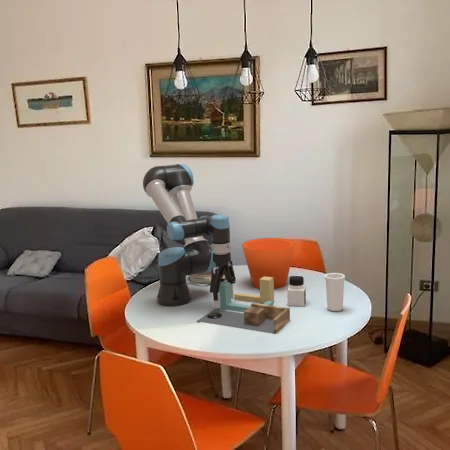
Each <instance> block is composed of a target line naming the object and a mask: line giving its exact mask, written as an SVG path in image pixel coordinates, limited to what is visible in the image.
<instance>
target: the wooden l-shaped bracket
mask: <svg viewBox="0 0 450 450" xmlns="http://www.w3.org/2000/svg"><path fill="white" fill-rule="evenodd" d="M250 306H251V307H257V308H264V309H265V318H267V319H273V327H274V333H276V334H278V333H279V332H280V331H281V330H282V329H283V328H284V327H285V326H286V325H287V324H288V323H289V322H290V321H291V309H290V307H284V306H283V307H282V306H275V305H273V306H270V305H263V304H260V303H255V302H251V304H250ZM280 329H281V330H280Z"/></svg>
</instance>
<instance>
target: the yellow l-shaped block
mask: <svg viewBox="0 0 450 450" xmlns="http://www.w3.org/2000/svg"><path fill="white" fill-rule="evenodd" d="M259 280H260V288H259V295H258V294H250V293H242V292H236V293H234V299H233V300H235V301H241V302H247V303H248V302H249V303H255V304H262V305H263V304H264V303H265V302H266V301H273V304H274V302H275V289H274V279H273V277H262V278H261V279H259Z"/></svg>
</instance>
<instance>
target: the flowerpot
mask: <svg viewBox="0 0 450 450" xmlns="http://www.w3.org/2000/svg"><path fill="white" fill-rule="evenodd" d="M295 244H296V242H295V241H293V240H291V239H287V238H281V237H280V238H279V237H266V238H265V237H264V238H261V237H260V238H256V239H255V238H254V239H250V240H246V241H244V242H243V243H242V244H241V247H242V251H243V254H244V258H245V262H246V264H247V268H248V272H249V275H250V279H251V283H252V286H253V287H255V288H256V289H260V280H259V279H261V278H262V277H273V279H274V290H276V289H281V288H284V287H285V286H286V285H287V283H288V280H289V274H290V269H291V264H292V260H293V255H294V249H295V246H296V245H295Z"/></svg>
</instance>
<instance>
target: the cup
mask: <svg viewBox="0 0 450 450" xmlns="http://www.w3.org/2000/svg"><path fill="white" fill-rule="evenodd" d="M324 279H325V290H326V291H325V292H326V304H327V308H326V309H327V310H328V311H332V312H340V311H342V310H343V308H344V294H345V293H344V290H345V280H346V275H345V274H343V273H340V272H330V273H326V274H324Z"/></svg>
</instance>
